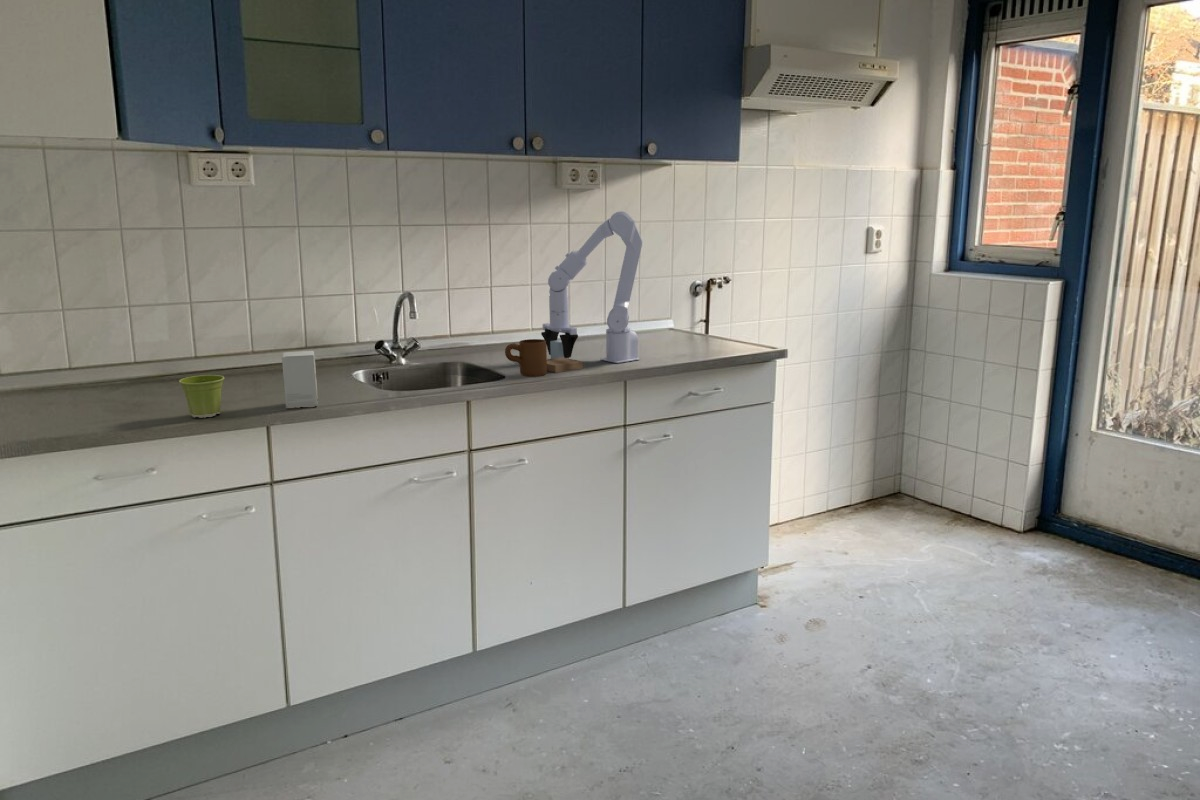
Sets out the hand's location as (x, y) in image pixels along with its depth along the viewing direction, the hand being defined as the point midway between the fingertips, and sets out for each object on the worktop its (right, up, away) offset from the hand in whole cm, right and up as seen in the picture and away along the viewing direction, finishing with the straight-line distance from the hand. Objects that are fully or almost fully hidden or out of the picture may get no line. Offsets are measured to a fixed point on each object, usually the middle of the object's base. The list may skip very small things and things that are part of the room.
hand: (559, 356), depth 271 cm
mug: (-8, -7, -22) cm, 24 cm away
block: (0, -1, 0) cm, 2 cm away
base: (0, -4, -12) cm, 13 cm away
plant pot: (-78, -17, -67) cm, 104 cm away
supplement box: (-59, -15, -57) cm, 83 cm away
